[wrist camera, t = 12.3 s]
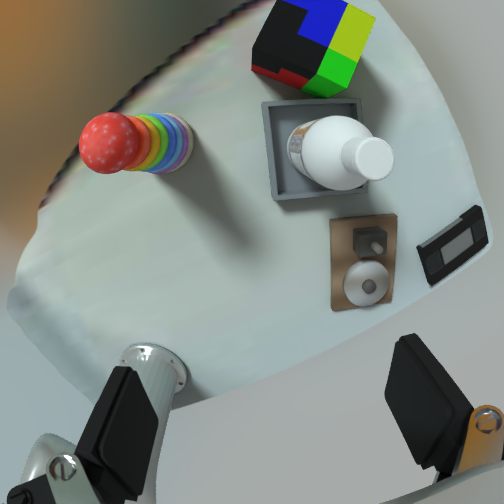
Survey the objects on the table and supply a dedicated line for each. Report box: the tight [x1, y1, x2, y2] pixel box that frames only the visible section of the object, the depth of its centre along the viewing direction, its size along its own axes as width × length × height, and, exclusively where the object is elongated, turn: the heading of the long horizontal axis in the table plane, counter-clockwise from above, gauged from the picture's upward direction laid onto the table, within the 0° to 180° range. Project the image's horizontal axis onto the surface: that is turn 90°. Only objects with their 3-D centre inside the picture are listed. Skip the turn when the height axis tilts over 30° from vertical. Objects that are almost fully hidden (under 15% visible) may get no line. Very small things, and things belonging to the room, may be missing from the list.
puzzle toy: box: [251, 0, 376, 99], centre depth 27 cm, size 10×10×10 cm
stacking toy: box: [79, 112, 194, 174], centre depth 27 cm, size 8×8×19 cm
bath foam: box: [287, 115, 394, 190], centre depth 27 cm, size 7×7×20 cm
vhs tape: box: [416, 205, 489, 286], centre depth 41 cm, size 8×14×2 cm, turn 122°
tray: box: [261, 98, 367, 201], centre depth 35 cm, size 12×12×3 cm
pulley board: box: [330, 214, 397, 311], centre depth 39 cm, size 14×10×6 cm
